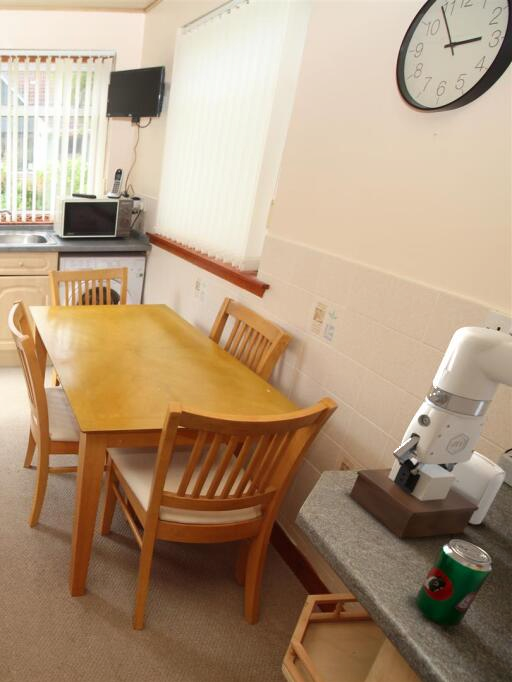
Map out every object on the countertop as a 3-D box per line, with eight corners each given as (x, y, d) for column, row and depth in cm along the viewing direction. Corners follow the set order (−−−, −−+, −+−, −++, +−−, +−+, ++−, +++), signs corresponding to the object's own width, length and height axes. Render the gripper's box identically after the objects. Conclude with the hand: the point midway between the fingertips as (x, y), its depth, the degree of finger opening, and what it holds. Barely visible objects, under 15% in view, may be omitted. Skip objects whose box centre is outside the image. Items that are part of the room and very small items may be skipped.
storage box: (405, 491, 95) (417, 466, 93) (464, 533, 85) (479, 507, 82) (347, 495, 93) (357, 470, 91) (400, 539, 83) (413, 512, 80)
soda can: (454, 636, 66) (492, 572, 61) (409, 610, 70) (442, 548, 65) (461, 616, 69) (498, 554, 64) (418, 592, 73) (449, 531, 68)
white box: (410, 475, 90) (420, 453, 88) (444, 499, 84) (456, 476, 82) (388, 477, 89) (397, 455, 87) (421, 500, 83) (432, 477, 81)
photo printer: (411, 490, 96) (436, 438, 91) (427, 487, 97) (452, 435, 92) (469, 527, 86) (499, 471, 82) (486, 523, 87) (517, 468, 83)
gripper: (436, 413, 75) (394, 504, 82) (524, 409, 78) (476, 497, 84) (393, 390, 82) (358, 476, 89) (475, 387, 84) (435, 471, 91)
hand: (416, 485), depth 86 cm, fingers closed on white box, 5 cm apart
